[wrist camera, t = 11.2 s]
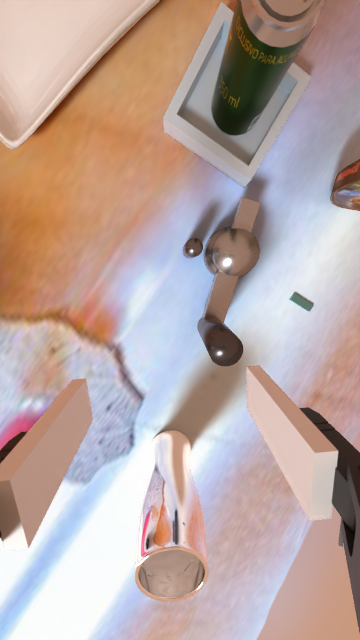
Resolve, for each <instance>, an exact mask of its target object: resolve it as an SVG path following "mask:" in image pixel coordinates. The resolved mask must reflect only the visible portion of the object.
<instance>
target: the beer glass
mask: <svg viewBox="0 0 360 640" xmlns="http://www.w3.org/2000/svg"><path fill="white" fill-rule="evenodd" d="M190 452H191V445H190V441H189V439H188V438H187V437H186V436H185V435H184V434H183V433H181V432H178V431H173V430H170V431H164V432H162V433H160V434H158V435H157V436H156V437H155V438H154V439H153V441H152V443H151V458H152V467H151V472H150V476H149V479H148V483H147V486H146V489H145V493H144V497H143V501H142V505H141V509H140V516H139V523H138V533H137V548H136V569H135V581H136V584H137V586H138V588H139V589H140V590H141V591H142V592H143V593H144V594H145V595H147V596H148V597H150V598H153V599H156V600H160V601H178V600H183V599H186V598H188V597H190V596H192V595H194V594H195V593H197V592H198V591H199V590H200V589H201V588H202V587H203V586H204V584H205V583H206V581H207V578H208V565H207V549H206V535H205V525H204V518H203V512H202V506H201V502H200V498H199V494H198V491H197V488H196V484H195V481H194V478H193V475H192V472H191V468H190Z"/></svg>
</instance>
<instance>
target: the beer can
mask: <svg viewBox="0 0 360 640" xmlns="http://www.w3.org/2000/svg"><path fill="white" fill-rule="evenodd" d="M324 1H325V0H237V3H236V7H235V11H234V14H233V18H232V22H231V26H230V30H229V34H228V38H227V42H226V46H225V50H224V54H223V58H222V61H221V65H220V69H219V73H218V77H217V81H216V85H215V89H214V93H213V97H212V104H211V111H212V116H213V119H214V121H215V123H216V125H217V127H218V128H219V129H220V130H221V131H222V132H223V133H224V134H226V135H228V136H238V135H242V134H245V133H247V132H248V131H249V130H251V129H252V128H253V126H254V125H255V124H256V123H257V121H258V119H259V118H260V116H261V114H262V113H263V111H264V109H265V108H266V106H267V104H268V103H269V101H270V99H271V98H272V96H273V94H274V93H275V91H276V89H277V88H278V86H279V84H280V83H281V81H282V79H283V78H284V76H285V74H286V73H287V71H288V69H289V68H290V66H291V64H292V63H293V61H294V59H295V58H296V56H297V54H298V53H299V51H300V49H301V48H302V46H303V44H304V43H305V41H306V40H307V38H308V36H309V35H310V33H311V31H312V30H313V28H314V26H315V25H316V22H317V20H318V18H319V15H320V13H321V10H322V6H323V4H324Z"/></svg>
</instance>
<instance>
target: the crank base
mask: <svg viewBox="0 0 360 640" xmlns="http://www.w3.org/2000/svg"><path fill="white" fill-rule="evenodd" d="M230 229H231V227H227V228H224V229H221V230H219V231H218V232H217V233H215V234H214V235H213V236H212V237H211V238H210V239H209V240H208V242H207V243H206V246H205V249H204V262H205V265H206V267H207V269H208V270H209V271H210V272H211V273H212V274H213V275H214V276H215V274H216V271H217V269H216V268H215V266H214V265H213V263H212V259H211V249H212V246H213V244H214V242H215V240H216V239H217V238H218V237H219V236H220V235H221V234H223V233H225V232H226V231H228V230H230ZM202 250H203V245H202V242H201V241H200V240H199V239H197V238H192V239H190V240H189V241H188V242H187V243H186V245H185V246H184V248H183V254H184V256H185V257H187V258H193V257H195V256H198V255H199V254H200V253H201V252H202ZM246 274H247V273H246ZM244 275H245V274H244ZM244 275H240V276H239V277H238V278H240V277H242V276H244ZM290 300H291V301H293V302H295V303H296V304H298V305H299V306H301V307H302V308H304V309H306V310H307V311H310V310H311V309H312V307H313V306H314V305H313V304H311V303H309V302H308V301H306V300H305V299H303V298H302V297H300V296H299V295H297V294H296V293H294V294H293V296H292V297H291V299H290Z"/></svg>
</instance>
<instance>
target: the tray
mask: <svg viewBox="0 0 360 640" xmlns="http://www.w3.org/2000/svg"><path fill="white" fill-rule="evenodd" d="M233 14H234V12H233V11H232V10H231V9H229V8H228V7H227V6H226V5H225V4H223V3H222V2H221V3H220V5H219V7H218V9H217V11H216V13H215V15H214V17H213V19H212V21H211V23H210V25H209V27H208V29H207V31H206V33H205V35H204V37H203V39H202V41H201V43H200V45H199V47H198V49H197V51H196V53H195V55H194V57H193V59H192V61H191V63H190V65H189V67H188V69H187V71H186V73H185V75H184V77H183V79H182V81H181V83H180V85H179V87H178V89H177V91H176V93H175V95H174V97H173V99H172V101H171V103H170V105H169V107H168V109H167V111H166V113H165V115H164V117H163V125H164V132H166V133H167V134H168V135H170V136H171V137H173V138H174V139H175V140H177V141H178V142H180V143H181V144H183V145H184V146H185V147H187V148H188V149H190V150H191V151H193V152H194V153H195V154H197V155H198V156H200V157H201V158H203V159H204V160H205V161H207V162H208V163H210V164H211V165H213V166H214V167H215V168H217V169H218V170H220V171H221V172H222V173H224V174H225V175H227V176H228V177H230V178H231V179H232V180H234V181H235V182H237V183H238V184H240V185H241V186H242V187H245V186H246V185H247V184H248V183H249V182H250V181H251V179H252V178H253V176H254V174H255V172H256V171H257V169H258V167H259V166H260V164H261V162H262V161H263V159H264V157H265V156H266V154H267V152H268V151H269V149H270V147H271V145H272V144H273V142H274V140H275V139H276V137H277V135H278V134H279V132H280V130H281V129H282V127H283V125H284V124H285V122H286V120H287V118H288V117H289V115H290V113H291V112H292V110H293V108H294V107H295V105H296V103H297V102H298V100H299V98H300V96H301V95H302V93H303V91H304V90H305V88H306V86H307V85H308V83H309V81H310V80H311V78H312V77H311V76H310V75H308V74H307V73H306V72H305V71H304V70H302V69H301V68H300V67H299V66H298V65H296V64H295V63H294V62H293V63H292V64H291V66H290V68H289V69H288V71H287V73H286V74H285V76H284V78H283V79H282V81H281V83H280V84H279V86H278V88H277V89H276V91H275V93H274V94H273V96H272V98H271V99H270V101H269V103H268V104H267V106H266V108H265V109H264V111H263V113H262V114H261V116H260V118H259V119H258V121H257V123H256V124H255V125H254V126H253V128H252V129H251V130H249V131H248V132H247V133H245V134H242V135H238V136H228V135H226V134H224V133H223V132H222V131H221V130H220V129H219V128H218V127H217V125H216V123H215V121H214V119H213V116H212V111H211V104H212V97H213V93H214V89H215V85H216V81H217V77H218V73H219V69H220V65H221V61H222V58H223V54H224V50H225V46H226V42H227V38H228V34H229V30H230V26H231V22H232V18H233Z"/></svg>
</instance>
